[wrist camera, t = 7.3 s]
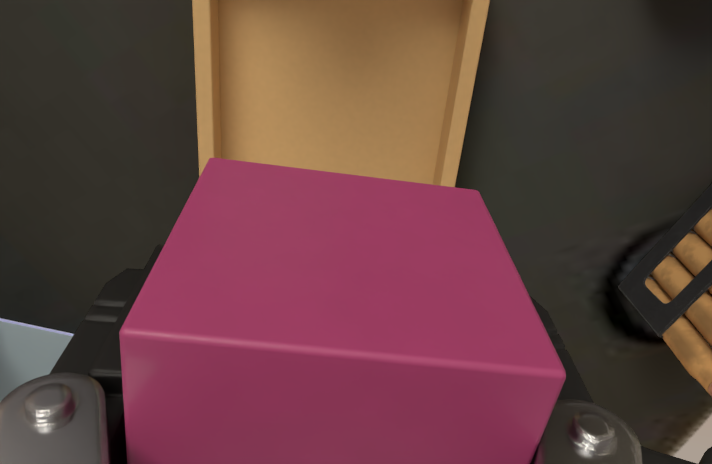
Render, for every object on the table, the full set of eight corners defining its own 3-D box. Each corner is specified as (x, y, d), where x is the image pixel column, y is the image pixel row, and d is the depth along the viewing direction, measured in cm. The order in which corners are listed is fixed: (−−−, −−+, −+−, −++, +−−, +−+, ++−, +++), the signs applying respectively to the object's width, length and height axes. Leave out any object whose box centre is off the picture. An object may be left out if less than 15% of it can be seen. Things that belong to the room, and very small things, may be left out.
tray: (202, -60, 27) (189, -57, 25) (483, -33, 28) (495, -27, 26) (212, 278, 36) (204, 303, 34) (425, 291, 37) (430, 317, 35)
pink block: (209, 155, 11) (115, 330, 6) (480, 188, 11) (571, 375, 7) (203, 366, 13) (133, 601, 9) (426, 387, 13) (467, 620, 9)
